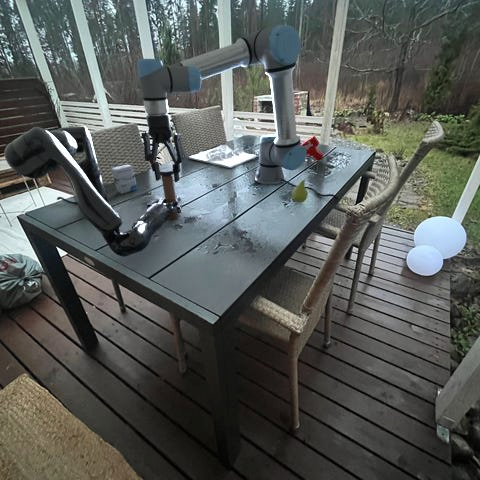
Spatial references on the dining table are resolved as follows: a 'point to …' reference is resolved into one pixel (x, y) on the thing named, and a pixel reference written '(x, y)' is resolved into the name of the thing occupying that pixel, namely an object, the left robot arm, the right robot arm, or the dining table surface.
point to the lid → (166, 172)
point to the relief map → (223, 156)
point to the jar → (169, 192)
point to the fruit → (300, 192)
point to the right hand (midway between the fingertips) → (167, 180)
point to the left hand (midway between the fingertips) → (173, 198)
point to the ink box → (124, 178)
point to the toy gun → (312, 148)
